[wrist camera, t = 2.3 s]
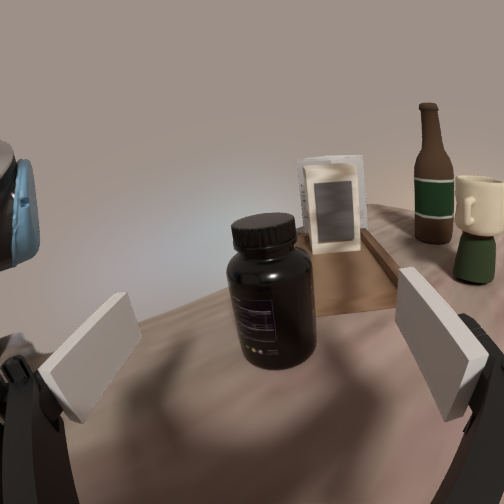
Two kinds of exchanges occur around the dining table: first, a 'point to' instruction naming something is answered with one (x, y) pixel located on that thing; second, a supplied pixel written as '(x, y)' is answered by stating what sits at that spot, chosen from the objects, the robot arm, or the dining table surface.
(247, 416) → the dining table surface
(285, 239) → the supplement bottle
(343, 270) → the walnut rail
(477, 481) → the robot arm
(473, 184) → the character mug
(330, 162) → the supplement box
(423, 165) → the beer bottle
